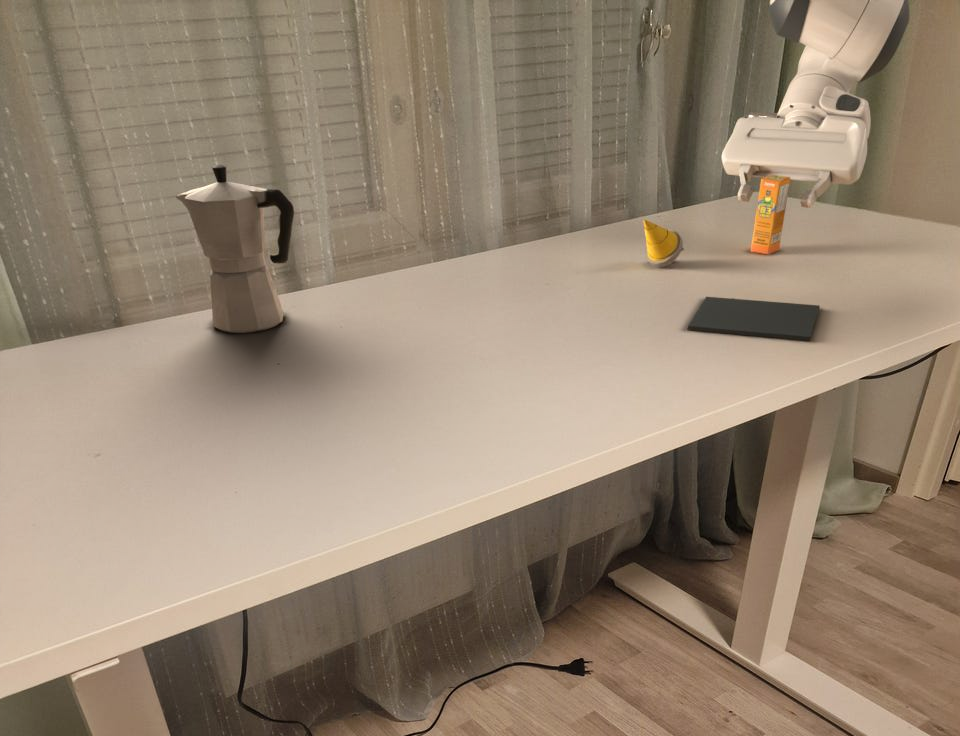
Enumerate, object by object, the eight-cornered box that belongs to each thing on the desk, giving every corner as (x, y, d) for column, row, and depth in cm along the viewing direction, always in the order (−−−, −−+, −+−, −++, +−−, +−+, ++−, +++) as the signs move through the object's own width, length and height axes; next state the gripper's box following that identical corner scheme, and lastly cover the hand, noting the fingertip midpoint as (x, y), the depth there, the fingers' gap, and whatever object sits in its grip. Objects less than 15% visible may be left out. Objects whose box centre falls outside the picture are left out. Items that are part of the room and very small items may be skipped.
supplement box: (748, 252, 129) (759, 177, 123) (760, 247, 131) (771, 173, 125) (767, 255, 127) (780, 180, 121) (780, 250, 129) (792, 176, 123)
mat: (818, 309, 107) (819, 305, 107) (809, 341, 98) (810, 336, 98) (705, 300, 111) (706, 296, 111) (687, 330, 103) (687, 325, 102)
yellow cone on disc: (691, 270, 124) (662, 228, 116) (656, 283, 127) (626, 243, 119) (690, 239, 125) (661, 195, 118) (656, 253, 128) (626, 211, 121)
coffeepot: (184, 329, 109) (146, 171, 98) (223, 307, 116) (192, 156, 105) (293, 338, 105) (266, 173, 94) (327, 314, 112) (305, 158, 101)
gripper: (737, 96, 128) (702, 182, 128) (880, 101, 118) (842, 194, 118) (744, 127, 133) (710, 208, 133) (881, 134, 124) (844, 222, 124)
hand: (773, 202), depth 125 cm, fingers open, 8 cm apart
